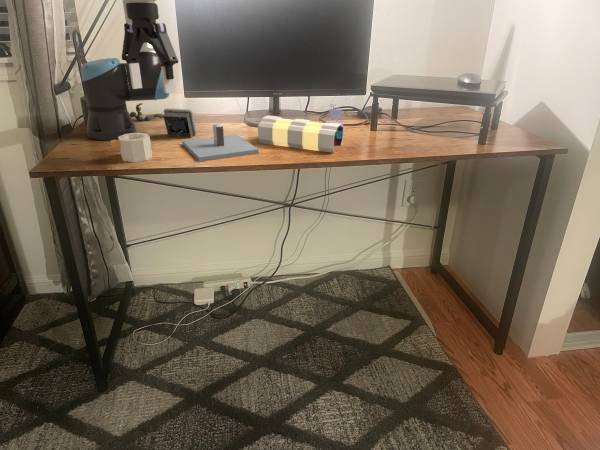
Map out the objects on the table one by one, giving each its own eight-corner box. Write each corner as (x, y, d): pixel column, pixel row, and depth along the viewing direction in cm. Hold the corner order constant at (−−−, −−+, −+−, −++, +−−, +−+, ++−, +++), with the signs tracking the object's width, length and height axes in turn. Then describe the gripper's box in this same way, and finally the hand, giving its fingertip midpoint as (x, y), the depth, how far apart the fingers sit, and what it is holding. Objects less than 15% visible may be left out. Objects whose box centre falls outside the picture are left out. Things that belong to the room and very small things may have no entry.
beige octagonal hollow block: (112, 156, 128) (108, 135, 125) (148, 151, 132) (145, 131, 129) (116, 164, 121) (112, 143, 119) (154, 159, 126) (151, 138, 123)
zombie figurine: (171, 102, 163) (128, 105, 158) (173, 120, 167) (131, 124, 161) (168, 99, 168) (126, 102, 162) (170, 116, 171) (130, 120, 165)
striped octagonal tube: (342, 145, 142) (345, 104, 136) (333, 154, 134) (335, 111, 128) (271, 136, 150) (271, 97, 144) (258, 144, 141) (257, 103, 135)
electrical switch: (197, 135, 149) (193, 107, 144) (192, 140, 145) (188, 113, 140) (170, 133, 150) (165, 106, 145) (164, 139, 145) (159, 111, 140)
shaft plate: (182, 144, 139) (180, 121, 136) (236, 137, 147) (235, 115, 143) (199, 161, 125) (197, 136, 122) (258, 153, 133) (257, 129, 129)
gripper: (98, 2, 114) (113, 88, 123) (161, 0, 101) (172, 96, 110) (124, 3, 120) (136, 85, 129) (186, 1, 107) (195, 92, 115)
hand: (152, 90), depth 119 cm, fingers open, 13 cm apart
